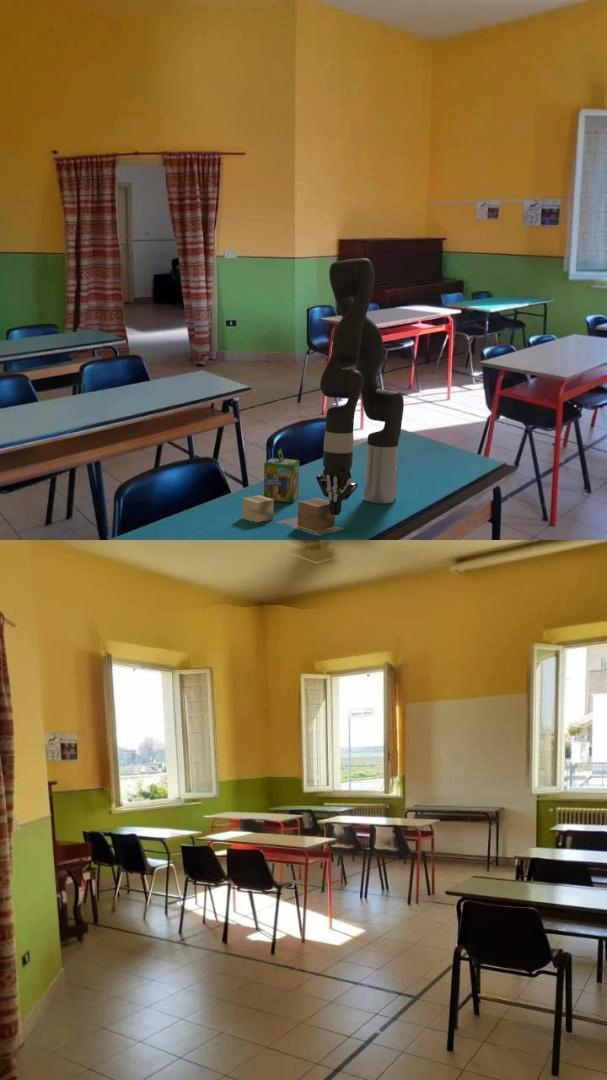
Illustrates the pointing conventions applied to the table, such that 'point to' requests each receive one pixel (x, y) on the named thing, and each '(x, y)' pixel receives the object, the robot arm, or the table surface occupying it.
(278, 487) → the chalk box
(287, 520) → the reading mat
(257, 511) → the beech block
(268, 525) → the table surface
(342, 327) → the robot arm
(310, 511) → the walnut block
